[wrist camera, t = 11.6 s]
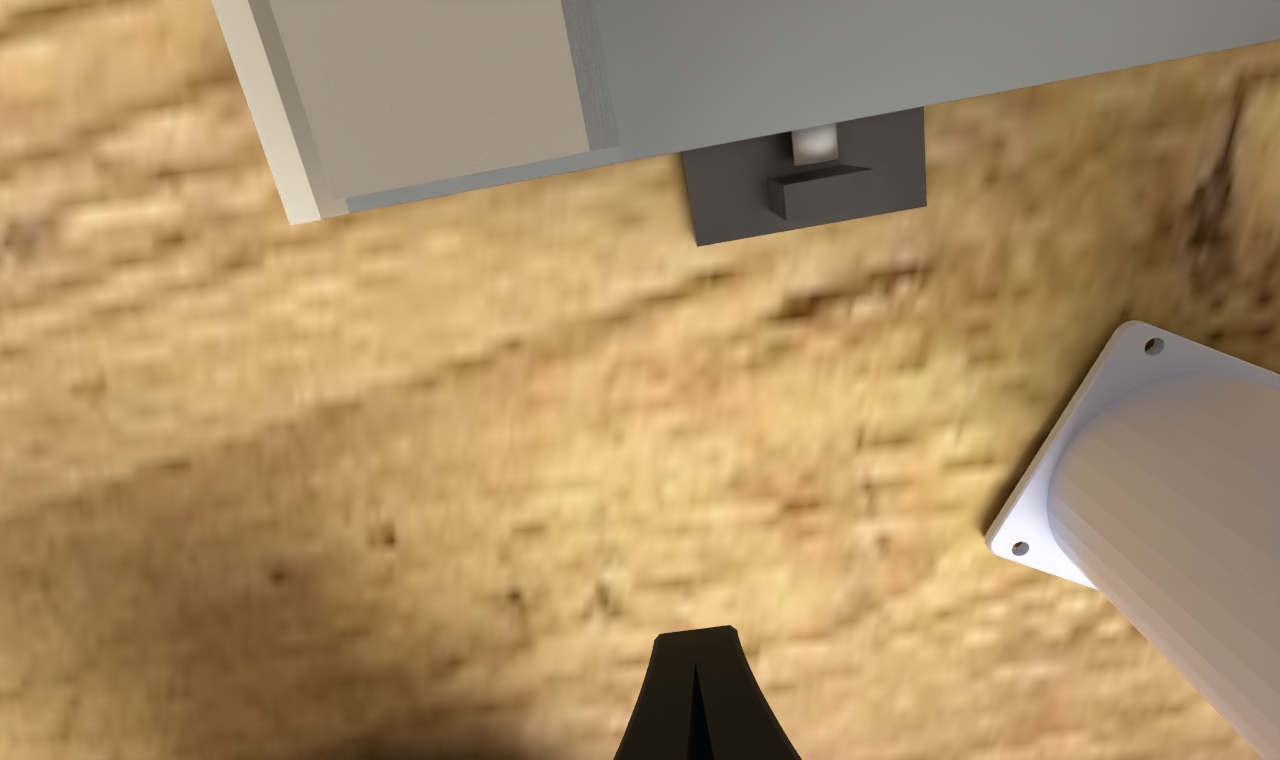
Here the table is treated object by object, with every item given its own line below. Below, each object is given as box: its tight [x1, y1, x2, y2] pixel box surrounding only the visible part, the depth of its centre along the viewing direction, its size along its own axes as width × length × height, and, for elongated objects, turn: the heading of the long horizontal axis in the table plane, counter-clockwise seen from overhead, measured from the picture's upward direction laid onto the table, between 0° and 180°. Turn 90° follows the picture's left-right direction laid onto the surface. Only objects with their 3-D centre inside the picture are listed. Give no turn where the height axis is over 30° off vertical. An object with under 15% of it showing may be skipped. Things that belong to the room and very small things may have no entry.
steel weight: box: [269, 0, 620, 200], centre depth 13 cm, size 5×5×4 cm
